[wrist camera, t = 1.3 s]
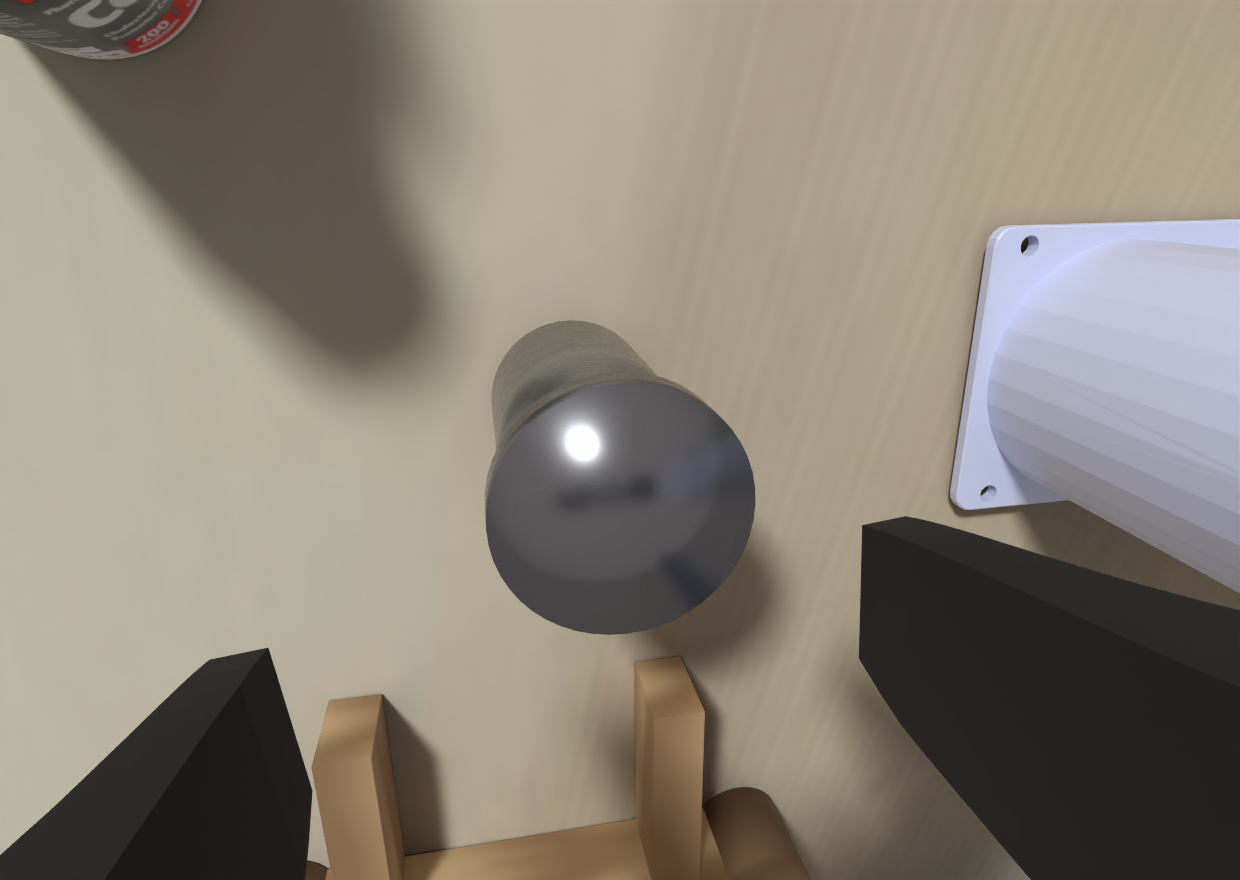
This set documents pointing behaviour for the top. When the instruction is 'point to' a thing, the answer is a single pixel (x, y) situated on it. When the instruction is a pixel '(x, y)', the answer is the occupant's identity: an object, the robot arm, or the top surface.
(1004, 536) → the top surface
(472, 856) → the wooden rack
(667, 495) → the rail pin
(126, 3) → the pill bottle
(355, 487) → the top surface
